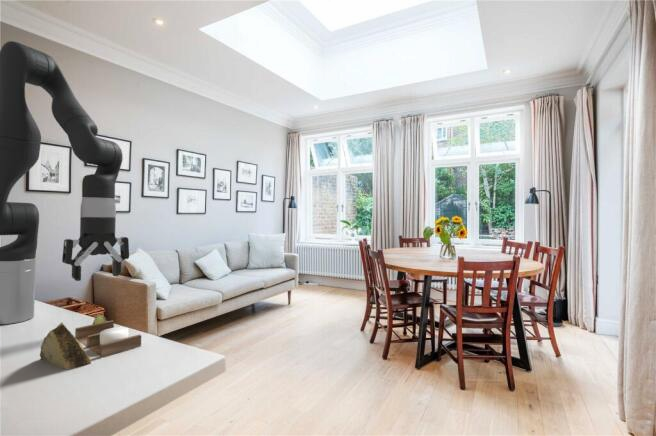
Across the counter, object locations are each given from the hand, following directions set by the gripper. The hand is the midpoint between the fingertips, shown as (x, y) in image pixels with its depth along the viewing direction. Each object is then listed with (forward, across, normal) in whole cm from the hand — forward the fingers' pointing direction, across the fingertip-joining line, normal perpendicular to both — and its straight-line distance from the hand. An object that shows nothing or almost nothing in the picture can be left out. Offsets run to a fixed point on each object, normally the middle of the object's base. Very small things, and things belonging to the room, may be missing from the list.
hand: (97, 278), depth 87 cm
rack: (+15, +1, +10) cm, 18 cm away
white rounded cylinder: (+14, +1, +14) cm, 20 cm away
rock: (+15, +10, +15) cm, 24 cm away
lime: (+15, 0, 0) cm, 15 cm away
